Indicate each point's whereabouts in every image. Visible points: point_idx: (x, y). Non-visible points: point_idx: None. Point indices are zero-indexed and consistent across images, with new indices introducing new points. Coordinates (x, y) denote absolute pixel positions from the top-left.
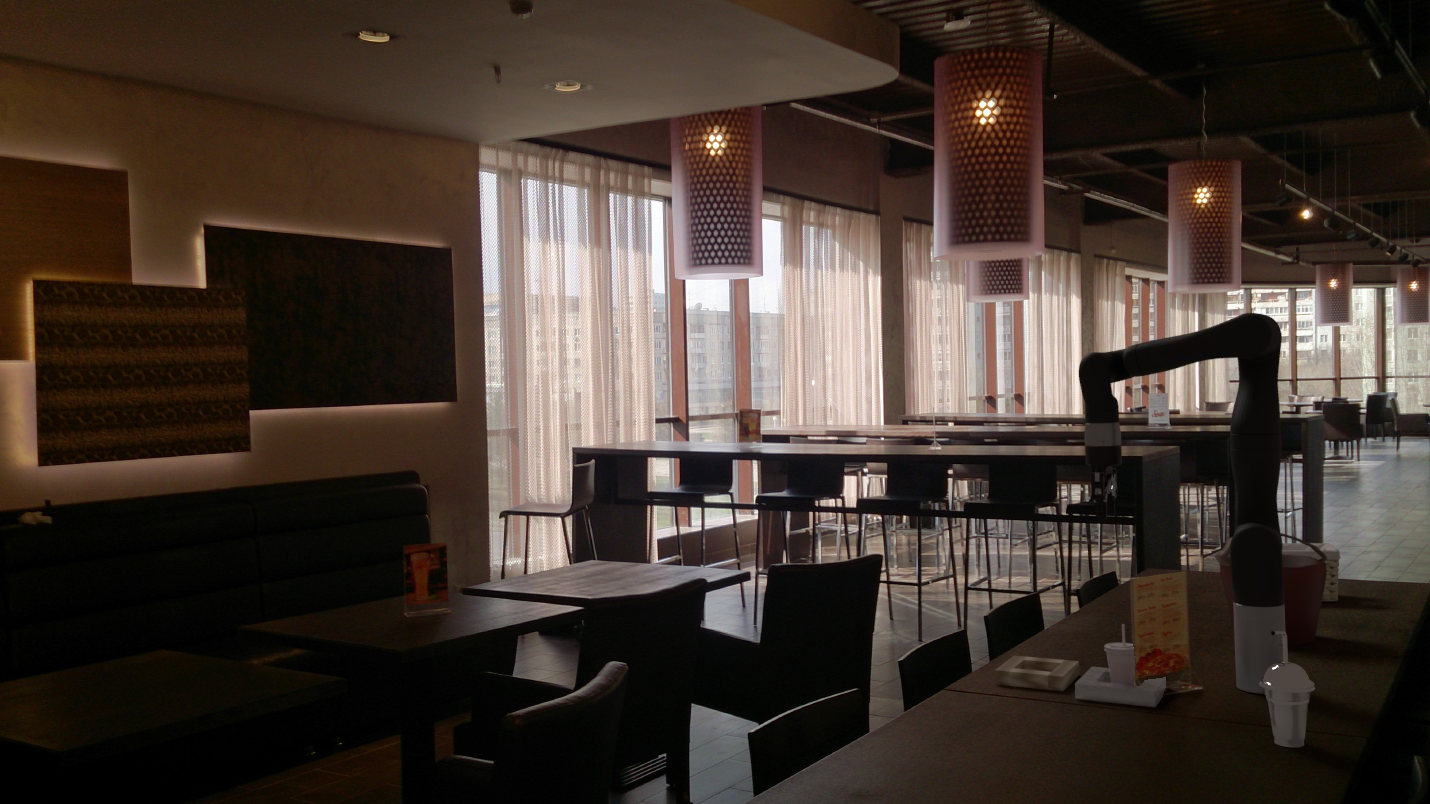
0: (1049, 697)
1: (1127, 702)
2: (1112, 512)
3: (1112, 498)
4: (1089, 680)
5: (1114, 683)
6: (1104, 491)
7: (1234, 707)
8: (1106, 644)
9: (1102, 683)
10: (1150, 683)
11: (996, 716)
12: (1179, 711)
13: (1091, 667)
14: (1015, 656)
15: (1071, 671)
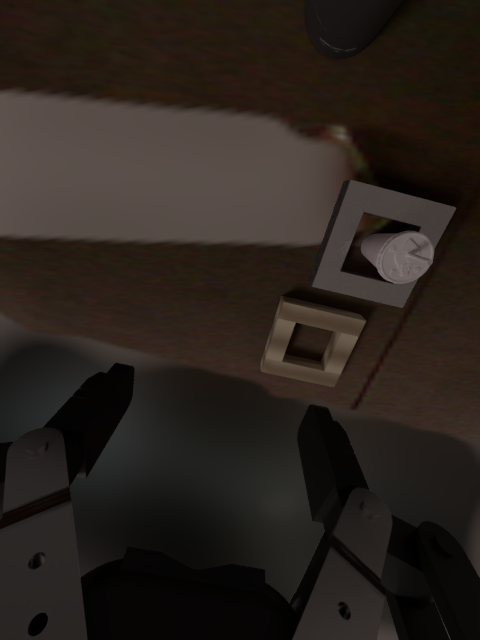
0: (385, 327)
1: None
2: (127, 381)
3: (73, 443)
4: (386, 290)
5: None
6: (455, 607)
7: (457, 81)
8: (393, 280)
9: None
10: (410, 211)
11: (454, 372)
12: (466, 174)
13: (317, 287)
14: (265, 370)
15: (322, 309)
